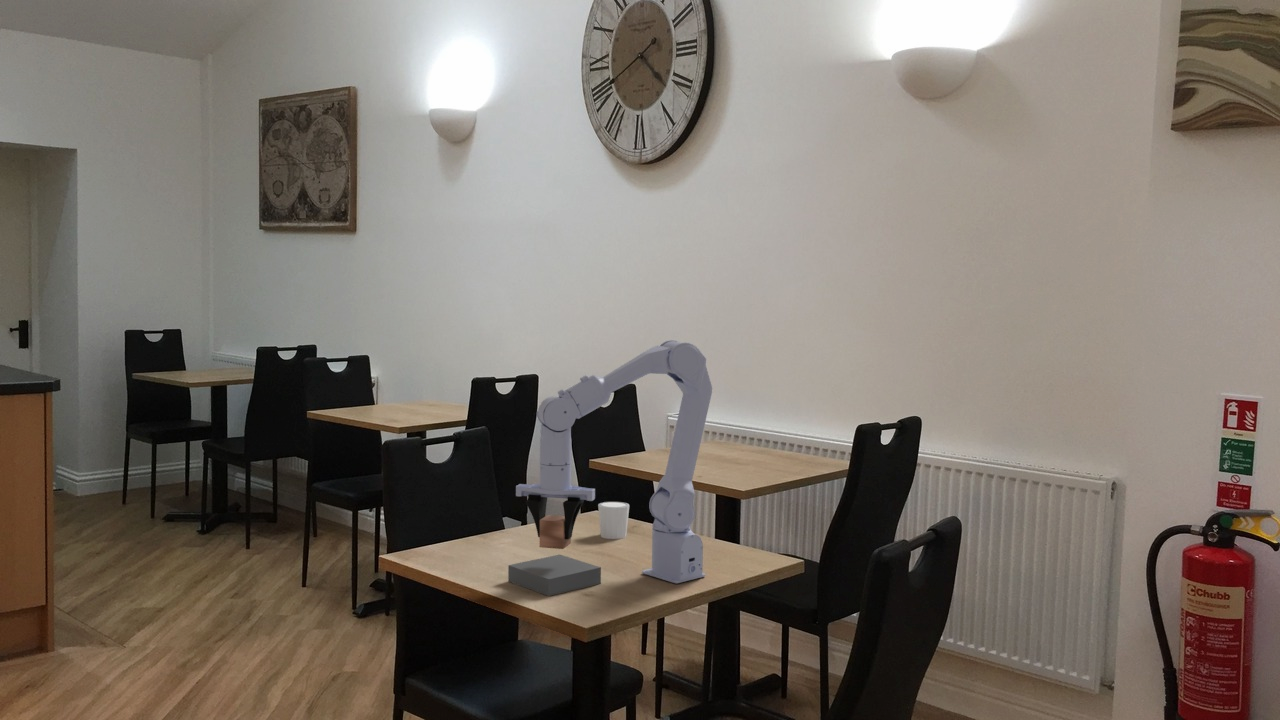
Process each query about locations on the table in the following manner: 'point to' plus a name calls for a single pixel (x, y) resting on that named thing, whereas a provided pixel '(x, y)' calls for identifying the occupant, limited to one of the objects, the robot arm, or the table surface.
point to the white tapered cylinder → (613, 519)
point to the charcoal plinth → (554, 574)
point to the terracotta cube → (553, 532)
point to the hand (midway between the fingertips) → (554, 537)
